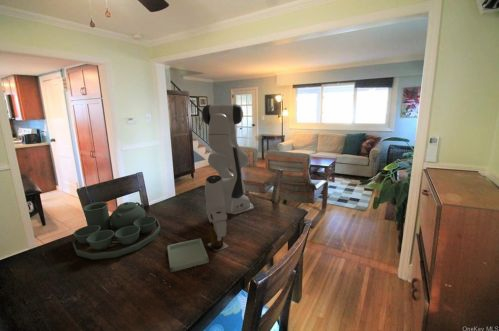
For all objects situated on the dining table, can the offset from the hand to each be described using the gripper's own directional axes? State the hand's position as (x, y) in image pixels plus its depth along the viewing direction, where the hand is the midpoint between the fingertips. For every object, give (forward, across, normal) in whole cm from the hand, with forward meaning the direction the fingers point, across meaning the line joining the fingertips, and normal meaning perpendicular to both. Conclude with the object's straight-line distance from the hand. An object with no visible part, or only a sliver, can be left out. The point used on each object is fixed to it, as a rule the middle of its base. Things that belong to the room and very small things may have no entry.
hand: (217, 236), depth 115 cm
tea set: (+5, -28, -45) cm, 53 cm away
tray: (+5, +3, -15) cm, 16 cm away
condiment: (+5, +1, 0) cm, 5 cm away
